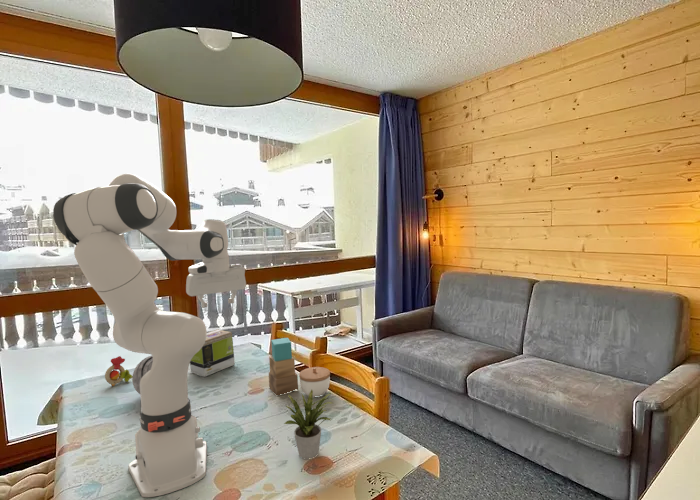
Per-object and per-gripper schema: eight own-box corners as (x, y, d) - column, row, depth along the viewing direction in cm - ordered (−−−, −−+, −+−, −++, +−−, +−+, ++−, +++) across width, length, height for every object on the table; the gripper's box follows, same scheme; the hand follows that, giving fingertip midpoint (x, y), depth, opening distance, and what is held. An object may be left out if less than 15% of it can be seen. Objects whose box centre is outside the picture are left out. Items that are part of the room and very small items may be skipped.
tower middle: (295, 374, 140) (294, 358, 140) (276, 379, 137) (275, 362, 136) (288, 368, 146) (287, 352, 146) (270, 372, 143) (269, 356, 142)
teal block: (291, 358, 139) (291, 342, 139) (275, 361, 137) (274, 344, 137) (288, 353, 145) (287, 337, 144) (272, 356, 143) (271, 339, 142)
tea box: (220, 361, 173) (218, 328, 172) (235, 365, 167) (233, 331, 166) (189, 372, 161) (187, 337, 160) (204, 377, 155) (201, 341, 154)
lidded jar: (314, 404, 130) (313, 376, 129) (293, 395, 137) (292, 369, 136) (337, 392, 138) (336, 367, 137) (316, 384, 145) (315, 360, 144)
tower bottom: (298, 390, 140) (297, 374, 140) (276, 396, 136) (276, 379, 136) (289, 383, 147) (289, 367, 147) (269, 388, 143) (268, 372, 143)
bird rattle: (119, 392, 149) (138, 374, 156) (105, 370, 144) (125, 353, 152) (108, 389, 152) (128, 372, 159) (94, 368, 147) (115, 352, 154)
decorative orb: (146, 409, 130) (142, 365, 129) (126, 398, 139) (123, 357, 137) (187, 392, 142) (184, 352, 140) (167, 383, 150) (164, 345, 149)
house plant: (344, 466, 97) (342, 402, 95) (288, 478, 93) (285, 412, 92) (331, 435, 110) (328, 380, 109) (281, 445, 106) (278, 387, 105)
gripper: (240, 263, 145) (242, 299, 146) (183, 268, 133) (185, 308, 134) (248, 264, 140) (249, 302, 141) (188, 269, 128) (191, 311, 129)
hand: (218, 305), depth 137 cm, fingers open, 8 cm apart
